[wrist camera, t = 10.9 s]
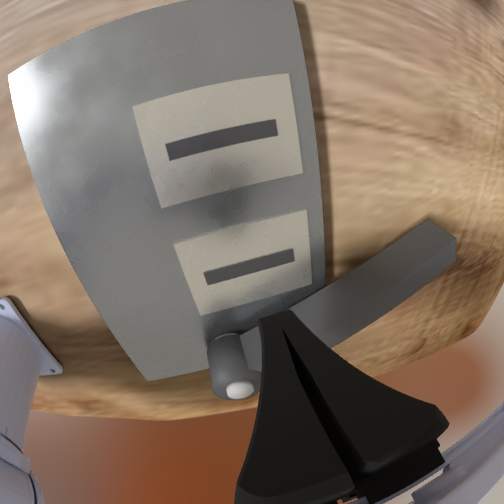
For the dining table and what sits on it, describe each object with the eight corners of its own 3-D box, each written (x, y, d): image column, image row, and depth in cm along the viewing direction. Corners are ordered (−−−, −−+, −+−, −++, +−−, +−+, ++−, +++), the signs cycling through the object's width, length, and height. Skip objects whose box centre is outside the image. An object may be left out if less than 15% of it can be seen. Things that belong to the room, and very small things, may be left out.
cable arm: (197, 348, 18) (202, 392, 15) (426, 211, 16) (461, 234, 13) (223, 370, 19) (231, 410, 16) (430, 245, 18) (460, 270, 15)
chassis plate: (147, 371, 20) (147, 384, 19) (17, 75, 8) (5, 75, 7) (320, 325, 21) (327, 336, 20) (283, -4, 10) (292, -11, 9)
